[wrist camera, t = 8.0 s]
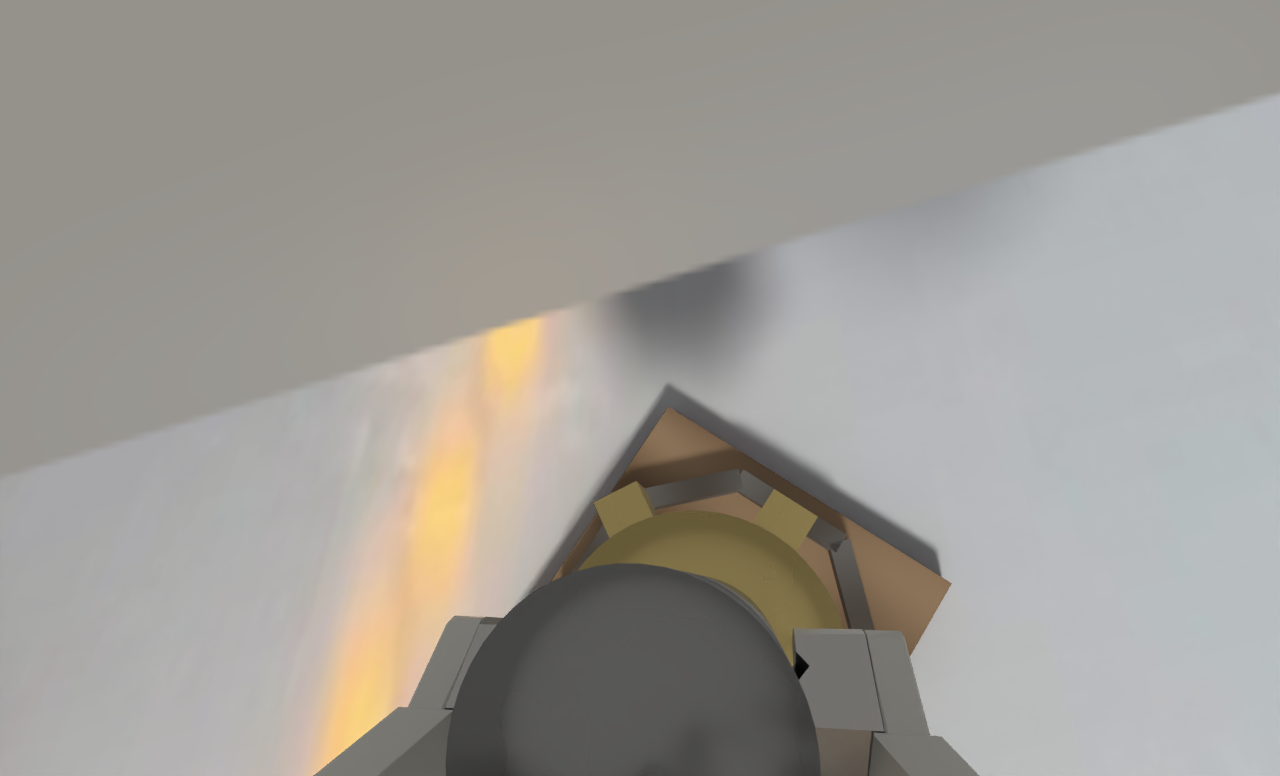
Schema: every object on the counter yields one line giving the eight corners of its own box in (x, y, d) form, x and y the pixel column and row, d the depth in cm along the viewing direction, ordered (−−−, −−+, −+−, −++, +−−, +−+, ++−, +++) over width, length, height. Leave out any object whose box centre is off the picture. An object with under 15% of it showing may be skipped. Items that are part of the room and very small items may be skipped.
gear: (661, 426, 18) (559, 242, 8) (939, 603, 16) (1231, 631, 6) (471, 707, 17) (99, 869, 7) (744, 939, 15) (735, 1606, 5)
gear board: (671, 413, 31) (665, 400, 29) (943, 583, 28) (959, 583, 26) (367, 865, 28) (337, 888, 26) (632, 1122, 25) (622, 1172, 22)
